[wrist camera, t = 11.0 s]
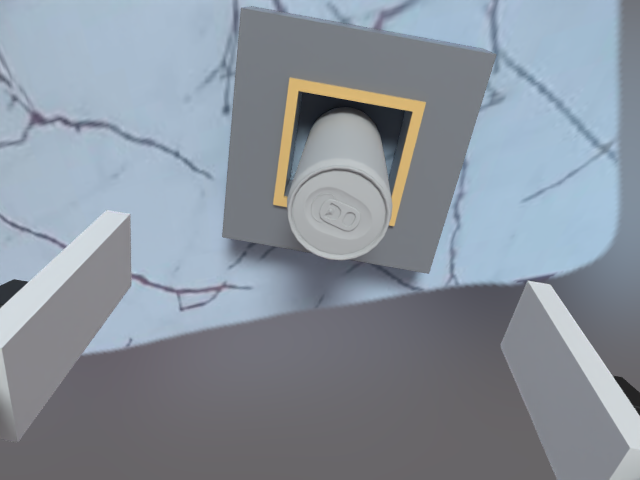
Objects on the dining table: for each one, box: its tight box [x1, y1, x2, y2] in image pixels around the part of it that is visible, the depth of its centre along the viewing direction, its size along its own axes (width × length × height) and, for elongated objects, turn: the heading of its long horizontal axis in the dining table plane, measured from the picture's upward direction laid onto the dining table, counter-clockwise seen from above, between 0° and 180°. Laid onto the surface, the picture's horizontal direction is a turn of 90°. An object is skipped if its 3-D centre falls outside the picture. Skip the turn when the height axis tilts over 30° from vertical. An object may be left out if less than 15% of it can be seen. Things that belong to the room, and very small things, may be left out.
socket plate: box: [222, 6, 496, 274], centre depth 31 cm, size 14×14×3 cm
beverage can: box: [287, 107, 392, 260], centre depth 27 cm, size 5×5×12 cm
